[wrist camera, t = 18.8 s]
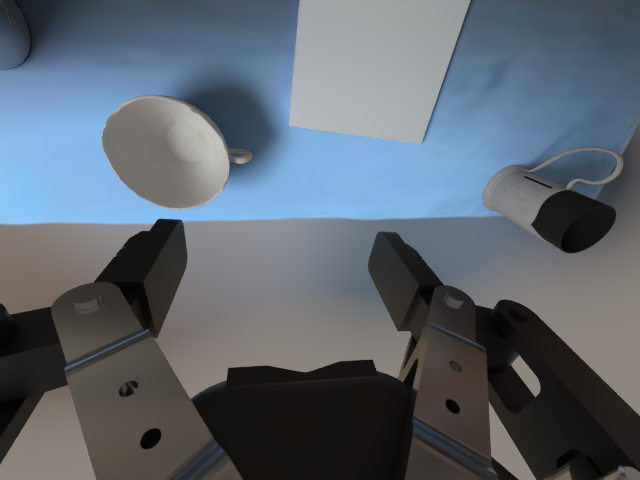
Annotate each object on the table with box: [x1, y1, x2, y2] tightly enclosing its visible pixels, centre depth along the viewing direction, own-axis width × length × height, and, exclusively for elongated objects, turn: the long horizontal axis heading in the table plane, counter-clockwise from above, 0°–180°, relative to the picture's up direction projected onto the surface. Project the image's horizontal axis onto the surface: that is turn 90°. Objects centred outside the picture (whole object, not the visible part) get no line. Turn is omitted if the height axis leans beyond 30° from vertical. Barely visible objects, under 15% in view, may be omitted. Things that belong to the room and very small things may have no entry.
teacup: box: [102, 95, 253, 210], centre depth 33 cm, size 15×12×8 cm
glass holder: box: [483, 147, 623, 253], centre depth 41 cm, size 9×14×15 cm, turn 172°
